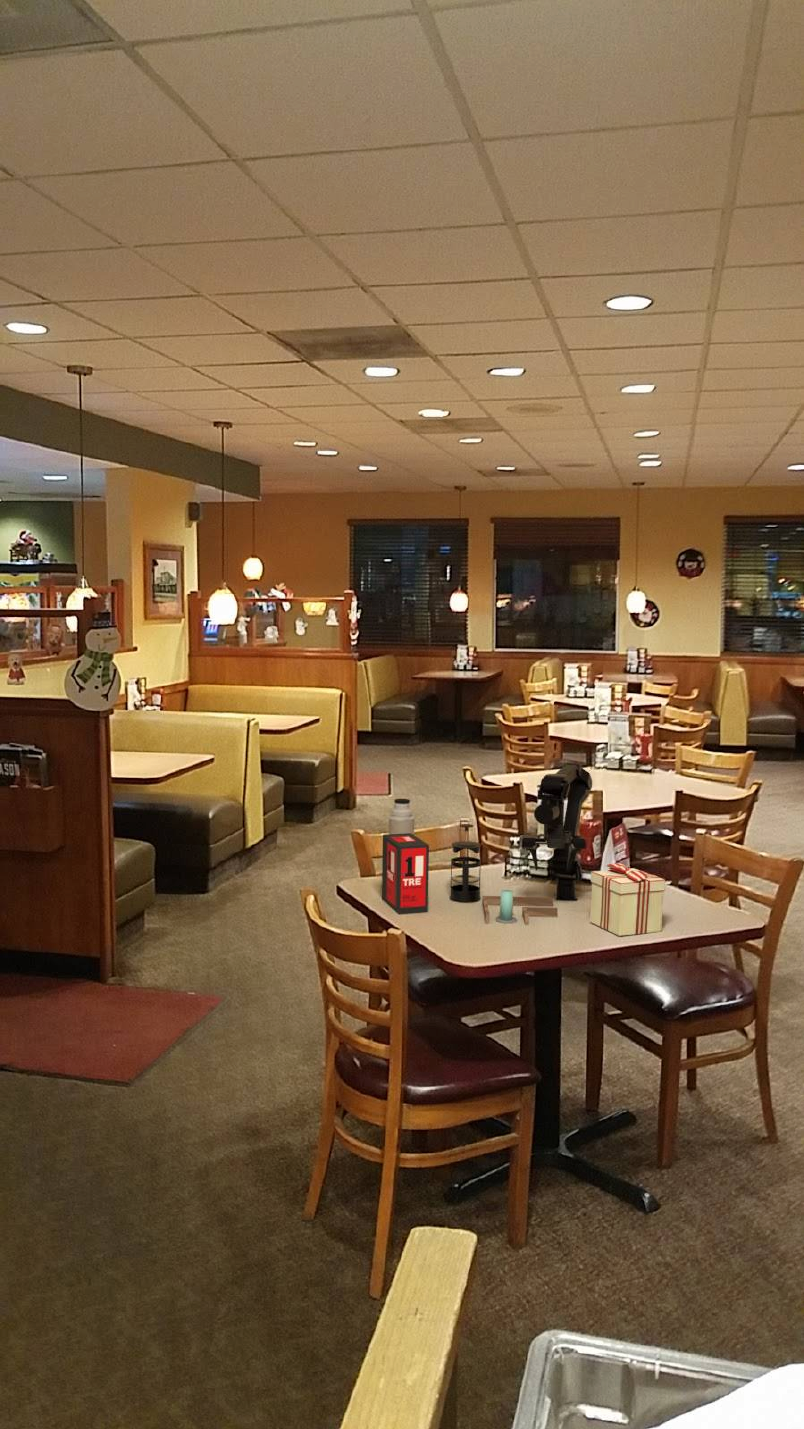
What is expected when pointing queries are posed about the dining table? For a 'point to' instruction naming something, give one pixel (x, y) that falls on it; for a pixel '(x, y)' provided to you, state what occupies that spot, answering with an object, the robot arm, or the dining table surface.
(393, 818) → the thermos bottle
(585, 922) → the dining table surface
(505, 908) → the peg
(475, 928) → the dining table surface
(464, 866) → the french press
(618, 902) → the gift box
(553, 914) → the channel
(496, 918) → the pad
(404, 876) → the cleaning product box
